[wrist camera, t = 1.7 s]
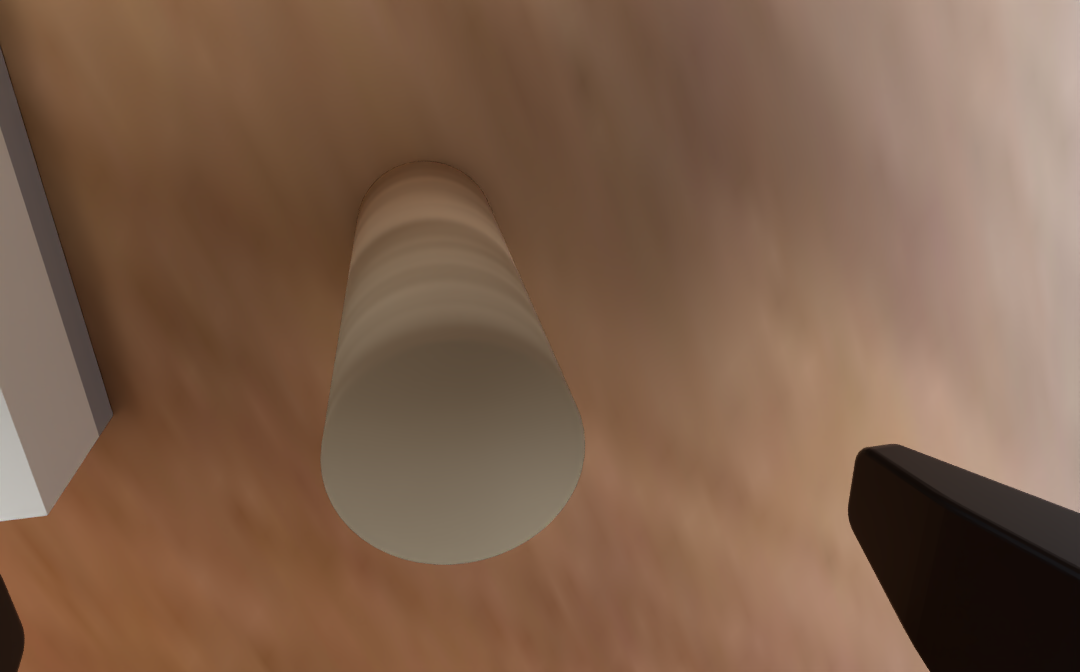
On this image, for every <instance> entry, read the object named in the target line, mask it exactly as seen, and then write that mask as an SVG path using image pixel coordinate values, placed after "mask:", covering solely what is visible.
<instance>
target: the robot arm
mask: <svg viewBox="0 0 1080 672" xmlns="http://www.w3.org/2000/svg"><path fill="white" fill-rule="evenodd" d="M848 517H849V522H850V525H851V528H852V530H853V532H854V534H855V536H856V538H857V540H858V542H859V544H860V546H861V547H862V549H863V551H864V553H865V555H866V557H867V559H868V561H869V563H870V565H871V567H872V568H873V570H874V572H875V574H876V576H877V578H878V580H879V582H880V584H881V586H882V588H883V589H884V591H885V593H886V595H887V597H888V599H889V601H890V603H891V605H892V607H893V609H894V610H895V612H896V614H897V616H898V618H899V620H900V622H901V624H902V626H903V628H904V629H905V631H906V633H907V635H908V636H909V638H910V640H911V642H912V644H913V645H914V647H915V649H916V650H917V652H918V653H919V655H920V657H921V658H922V660H923V661H924V663H925V665H926V666H927V668H928V669H929V671H930V672H1080V513H1078V512H1075V511H1072V510H1070V509H1067V508H1065V507H1062V506H1059V505H1057V504H1054V503H1051V502H1049V501H1046V500H1044V499H1041V498H1038V497H1036V496H1033V495H1030V494H1028V493H1025V492H1023V491H1020V490H1017V489H1015V488H1012V487H1009V486H1007V485H1004V484H1002V483H999V482H996V481H994V480H991V479H988V478H986V477H983V476H980V475H978V474H975V473H973V472H970V471H967V470H965V469H962V468H959V467H957V466H954V465H952V464H949V463H946V462H944V461H941V460H938V459H936V458H933V457H931V456H928V455H925V454H923V453H920V452H917V451H915V450H912V449H910V448H907V447H904V446H902V445H898V444H887V445H880V446H873V447H866V448H864V449H862V450H861V451H860V452H859V453H858V455H857V456H856V460H855V465H854V471H853V478H852V484H851V491H850V497H849V503H848ZM23 651H24V631H23V627H22V624H21V621H20V619H19V616H18V614H17V612H16V609H15V607H14V604H13V602H12V600H11V597H10V595H9V593H8V590H7V588H6V585H5V583H4V581H3V578H2V576H1V575H0V672H18V668H19V665H20V662H21V658H22V655H23Z"/></svg>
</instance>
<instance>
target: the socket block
mask: <svg viewBox="0 0 1080 672" xmlns="http://www.w3.org/2000/svg"><path fill="white" fill-rule="evenodd" d="M112 416H113V413H112V410H111V406H110V403H109V400H108V397H107V393H106V390H105V387H104V384H103V380H102V377H101V374H100V371H99V367H98V364H97V361H96V358H95V354H94V351H93V348H92V345H91V341H90V338H89V335H88V331H87V328H86V325H85V322H84V318H83V315H82V312H81V309H80V305H79V302H78V299H77V296H76V292H75V289H74V286H73V283H72V279H71V276H70V273H69V270H68V266H67V263H66V260H65V257H64V253H63V250H62V247H61V244H60V240H59V237H58V234H57V230H56V227H55V224H54V221H53V217H52V214H51V211H50V208H49V204H48V201H47V198H46V195H45V191H44V188H43V185H42V182H41V178H40V175H39V172H38V169H37V165H36V162H35V159H34V156H33V152H32V149H31V146H30V143H29V139H28V136H27V133H26V130H25V126H24V123H23V120H22V116H21V113H20V110H19V107H18V103H17V100H16V97H15V94H14V90H13V87H12V84H11V81H10V77H9V74H8V71H7V68H6V64H5V61H4V58H3V55H2V51H1V48H0V521H7V520H15V519H23V518H31V517H38V516H46V515H48V514H49V512H50V511H51V509H52V508H53V506H54V505H55V503H56V502H57V500H58V499H59V497H60V496H61V494H62V493H63V491H64V490H65V488H66V487H67V485H68V483H69V482H70V480H71V479H72V477H73V476H74V474H75V473H76V471H77V470H78V468H79V467H80V465H81V464H82V462H83V461H84V459H85V458H86V456H87V454H88V453H89V451H90V450H91V448H92V447H93V445H94V444H95V442H96V441H97V439H98V438H99V436H100V435H101V433H102V432H103V430H104V428H105V427H106V425H107V424H108V422H109V421H110V419H111V418H112Z"/></svg>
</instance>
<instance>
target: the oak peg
mask: <svg viewBox="0 0 1080 672" xmlns="http://www.w3.org/2000/svg"><path fill="white" fill-rule="evenodd" d="M584 453H585V437H584V428H583V424H582V420H581V416H580V413H579V411H578V409H577V406H576V404H575V402H574V399H573V397H572V395H571V392H570V390H569V388H568V385H567V383H566V381H565V378H564V376H563V374H562V372H561V369H560V367H559V365H558V362H557V360H556V358H555V355H554V353H553V351H552V348H551V346H550V344H549V342H548V339H547V337H546V335H545V332H544V330H543V328H542V325H541V323H540V321H539V319H538V316H537V314H536V312H535V309H534V307H533V305H532V302H531V300H530V298H529V295H528V293H527V291H526V289H525V286H524V284H523V282H522V279H521V277H520V275H519V272H518V270H517V268H516V266H515V263H514V261H513V259H512V256H511V254H510V252H509V249H508V247H507V245H506V242H505V240H504V238H503V236H502V233H501V231H500V229H499V226H498V224H497V222H496V219H495V217H494V215H493V213H492V210H491V208H490V206H489V203H488V201H487V199H486V197H485V195H484V194H483V192H482V190H481V189H480V188H479V187H478V185H477V184H476V183H475V182H474V181H473V180H472V179H471V178H470V177H468V176H467V175H466V174H464V173H463V172H461V171H459V170H458V169H456V168H454V167H451V166H449V165H446V164H442V163H438V162H430V161H418V162H411V163H407V164H403V165H400V166H398V167H396V168H393V169H391V170H390V171H388V172H386V173H385V174H384V175H382V176H381V177H380V178H378V179H377V180H376V181H375V183H374V184H373V185H372V186H371V187H370V189H369V190H368V191H367V193H366V195H365V196H364V198H363V200H362V203H361V206H360V208H359V213H358V218H357V224H356V231H355V237H354V243H353V250H352V256H351V262H350V269H349V275H348V281H347V288H346V294H345V300H344V307H343V313H342V319H341V326H340V332H339V338H338V344H337V351H336V357H335V363H334V370H333V376H332V382H331V389H330V395H329V401H328V408H327V414H326V420H325V427H324V433H323V439H322V446H321V471H322V478H323V482H324V486H325V489H326V492H327V494H328V497H329V499H330V501H331V503H332V505H333V507H334V508H335V510H336V512H337V513H338V515H339V516H340V518H341V519H342V520H343V521H344V522H345V523H346V524H347V526H348V527H349V528H350V529H351V530H352V531H354V532H355V533H356V534H357V535H358V536H359V537H360V538H362V539H363V540H365V541H366V542H368V543H369V544H371V545H372V546H374V547H376V548H378V549H380V550H382V551H384V552H386V553H388V554H391V555H393V556H396V557H399V558H402V559H406V560H410V561H414V562H419V563H427V564H446V565H451V564H462V563H470V562H475V561H480V560H484V559H487V558H491V557H494V556H497V555H500V554H502V553H504V552H507V551H509V550H512V549H514V548H515V547H517V546H519V545H521V544H523V543H524V542H526V541H528V540H529V539H531V538H532V537H533V536H535V535H536V534H538V533H539V532H540V531H541V530H543V529H544V528H545V527H546V526H547V525H548V524H549V523H550V522H551V521H552V520H553V519H554V518H555V517H556V516H557V515H558V514H559V513H560V511H561V510H562V509H563V507H564V506H565V504H566V503H567V502H568V500H569V499H570V497H571V495H572V493H573V491H574V489H575V487H576V485H577V482H578V480H579V477H580V474H581V471H582V466H583V461H584Z"/></svg>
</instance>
